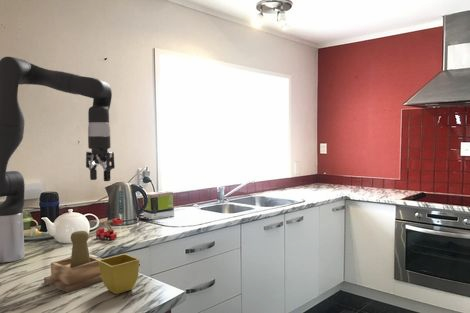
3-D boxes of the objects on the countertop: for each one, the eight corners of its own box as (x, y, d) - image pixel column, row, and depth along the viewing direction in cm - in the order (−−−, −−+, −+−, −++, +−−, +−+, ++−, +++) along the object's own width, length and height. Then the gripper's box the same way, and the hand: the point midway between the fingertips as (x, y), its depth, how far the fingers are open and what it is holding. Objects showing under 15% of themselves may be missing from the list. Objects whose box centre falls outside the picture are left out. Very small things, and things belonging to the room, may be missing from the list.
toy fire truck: (100, 236, 172) (99, 216, 172) (123, 239, 166) (122, 218, 166) (94, 238, 169) (94, 217, 168) (118, 241, 163) (117, 219, 163)
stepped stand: (44, 282, 114) (43, 263, 114) (86, 269, 125) (85, 252, 125) (67, 292, 106) (66, 272, 106) (110, 278, 117) (109, 259, 117)
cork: (93, 263, 118) (92, 229, 118) (86, 269, 112) (85, 233, 112) (74, 263, 118) (73, 229, 118) (66, 269, 112) (65, 234, 112)
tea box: (166, 214, 226) (165, 190, 226) (174, 216, 218) (173, 191, 218) (143, 217, 216) (142, 192, 216) (151, 220, 209) (150, 194, 208)
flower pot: (98, 290, 107) (97, 259, 107) (126, 282, 113) (125, 253, 113) (112, 299, 101) (111, 266, 100) (141, 289, 107) (140, 259, 107)
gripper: (78, 135, 134) (79, 180, 134) (101, 135, 125) (102, 182, 126) (97, 136, 140) (98, 178, 140) (120, 135, 131) (121, 180, 132)
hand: (100, 180), depth 133 cm, fingers open, 8 cm apart
